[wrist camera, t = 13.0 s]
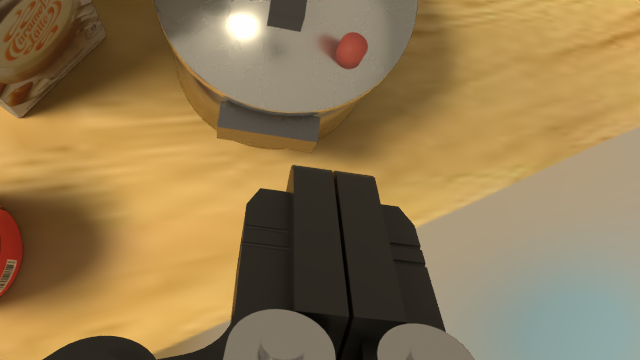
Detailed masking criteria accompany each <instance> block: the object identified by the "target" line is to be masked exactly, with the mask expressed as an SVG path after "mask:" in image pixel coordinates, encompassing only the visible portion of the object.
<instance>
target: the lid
mask: <svg viewBox="0 0 640 360" xmlns="http://www.w3.org/2000/svg"><path fill="white" fill-rule="evenodd" d="M154 2H155V8H156V12H157V16H158V19H159V22H160V25H161V28H162V31H163V33H164V35H165V37H166V39H167V41H168V43H169V45H170V47H171V48H172V50H173V51H174V53H175V54H176V56H177V57H178V59H179V60H180V61H181V63H182V64H183V65H184V66H185V67H186V68H187V69H188V70H189V72H190V73H191V74H192V75H193V76H194V77H196V78H197V79H198V80H199V81H200V82H201V83H202V84H204V85H205V86H206V87H208V88H209V89H210V90H212V91H213V92H215V93H216V94H218V95H219V96H221V97H223V98H225V99H227V100H229V101H231V102H233V103H235V104H237V105H240V106H242V107H245V108H248V109H251V110H253V111H258V112H262V113H267V114H271V115H281V116H308V115H315V114H321V113H325V112H329V111H332V110H336V109H339V108H341V107H344V106H346V105H348V104H350V103H352V102H355V101H356V100H358V99H359V98H361V97H363V96H364V95H366V94H367V93H369V92H370V91H371V90H372V89H373V88H375V87H376V86H377V85H378V84H379V83H380V82H381V81H382V80H383V79H384V78H385V77H386V76H387V75H388V73H389V72H390V71H391V70H392V69H393V67H394V66H395V65H396V63H397V62H398V60H399V59H400V57H401V56H402V54H403V53H404V51H405V49H406V47H407V44H408V42H409V40H410V38H411V35H412V31H413V28H414V25H415V20H416V13H417V0H154Z"/></svg>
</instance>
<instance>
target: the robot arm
mask: <svg viewBox="0 0 640 360" xmlns="http://www.w3.org/2000/svg"><path fill="white" fill-rule="evenodd" d="M43 360H156V359H155V357H154V356H153V354H152V353H151V352H150V351H149V350H148V349H146V348H145V347H143V346H142V345H141V344H139V343H137V342H134V341H132V340H129V339H126V338H122V337H116V336H96V337H89V338H85V339H81V340H78V341H75V342H73V343H70V344H68V345H66V346H64V347H62V348H61V349H59V350H57V351H55V352H54V353H52V354H51V355H49V356H47V357H46V358H44V359H43ZM158 360H475V359H474V358H473V356H472V355H471V354H470V352H469V351H468V350H467V349H466V348H465V346H464V345H463V344H461V343H460V342H459V341H458V340H457V339H455V338H454V337H452V336H451V335H449V334H448V333H446V331H445V328H444V324H443V321H442V318H441V314H440V311H439V307H438V304H437V301H436V297H435V294H434V290H433V287H432V284H431V280H430V277H429V273H428V270H427V268H426V267H425V260H424V256H423V253H422V250H420V243H419V240H418V236H417V233H416V229H415V226H414V225H413V223H412V222H411V221H410V220H409V219H408V218H407V216H406V215H405V214H404V213H403V212H402V210H401V209H400V208H399V207H397V206H389V205H382V204H381V203H380V199H379V194H378V190H377V185H376V181H375V178H374V177H373V176H368V175H361V174H354V173H347V172H340V171H334V172H332V171H331V170H325V169H318V168H310V167H303V166H296V165H292V167H291V170H290V175H289V180H288V185H287V190H286V192H284V191H277V190H269V189H262V188H260V189H259V190H258V192H257V193H256V194H255V195H254V196H253V197H252V198H251V200H250V201H249V202H248V203H247V205H246V212H245V218H244V225H243V231H242V238H241V245H240V251H239V258H238V265H237V272H236V281H235V289H234V298H233V306H232V314H231V323H230V326H229V327H228V328H227V330H226V331H225V333H224V334H223V335H222V336H221V337H220V338H219V339H217V340H216V341H215V342H213V343H212V344H210V345H208V346H207V347H205V348H203V349H200V350H198V351H195V352H193V353H188V354H184V355H179V356H174V357H169V358H163V359H158Z"/></svg>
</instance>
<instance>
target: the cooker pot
mask: <svg viewBox="0 0 640 360" xmlns="http://www.w3.org/2000/svg"><path fill="white" fill-rule="evenodd" d="M173 52H174V51H173ZM174 58H175V63H176V68H177V73H178V77H179V80H180V83H181V86H182V89H183V91H184V93H185V95H186V97H187V99H188V101H189V102H190V104H191V105H192V107H193V108H194V110H195V111H196V112H197V113H198V114H199V115H200V116H201V118H202V119H203V120H204V121H205V122H207V123H208V124H209V125H210V126H211V127H212V128H214V129H215V130H217V138H220V139H226V140H233V141H236V142H239V143H242V144H245V145H248V146H252V147H257V148H263V149H291V150H297V151H304V152H310V153H311V152H312V150H313V149H314V147H315V146H316V144H317V143H318V139H320V138H322V137H323V136H325V135H327V134H328V133H330V132H331V131H332V130H334V129H335V128H336V127H337V126H338V125H340V124H341V122H342V121H343V120H344V119H345V118H346V117H347V116H348V114H349V113H350V112H351V110H352V109H353V108H354V106H355V105H356V104H357V102H358V101H359V100H360V98H359V99H358V100H356V101H355V102H352V103H350V104H348V105H346V106H344V107H341V108H339V109H336V110H332V111H329V112H325V113H321V114H315V115H308V116H281V115H271V114H267V113H262V112H258V111H253V110H251V109H248V108H245V107H242V106H240V105H237V104H235V103H233V102H231V101H229V100H227V99H225V98H223V97H221V96H219V95H218V94H216V93H215V92H213V91H212V90H210V89H209V88H208V87H206V86H205V85H204V84H202V83H201V82H200V81H199V80H198V79H197V78H196V77H194V76H193V75H192V74H191V73H190V72H189V70H188V69H187V68H186V67H185V66H184V65H183V64H182V63H181V61H180V60H179V59H178V57H177V56H176V54H175V53H174Z"/></svg>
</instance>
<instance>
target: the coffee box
mask: <svg viewBox="0 0 640 360" xmlns="http://www.w3.org/2000/svg"><path fill="white" fill-rule="evenodd" d="M105 37H106V32H105V30H104V28H103V25H102V23H101V21H100V19H99V16H98V14H97V11H96V9H95V7H94V5H93V2H92V0H0V106H1V107H3V108H4V109H5V110H7V111H8V112H10V113H11V114H13V115H14V116H16V117H17V118H20V117H23V116H24V115H25V114H26V113H27V112H28V111H29V110H30V109H31V108H32V107H33V106H34V105H35V104H36V103H37V102H38V101H39V100H40V99H41V98H42V97H43V96H44V95H45V94H46V93H48V92H49V91H50V90H51V89H52V88H53V87H54V86H55V85H56V84H57V83H58V82H59V81H60V80H61V79H62V78H63V77H64V76H65V75H66V74H67V73H68V72H69V71H70V70H71V69H73V68H74V67H75V66H76V65H77V64H78V63H79V62H80V61H81V60H82V59H83V58H84V57H85V56H86V55H87V54H88V53H89V52H90V51H91V50H92V49H93V48H95V47H96V46H97V45H98V44H99V43H100V42H101V41H102V40H103V39H104V38H105Z"/></svg>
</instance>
